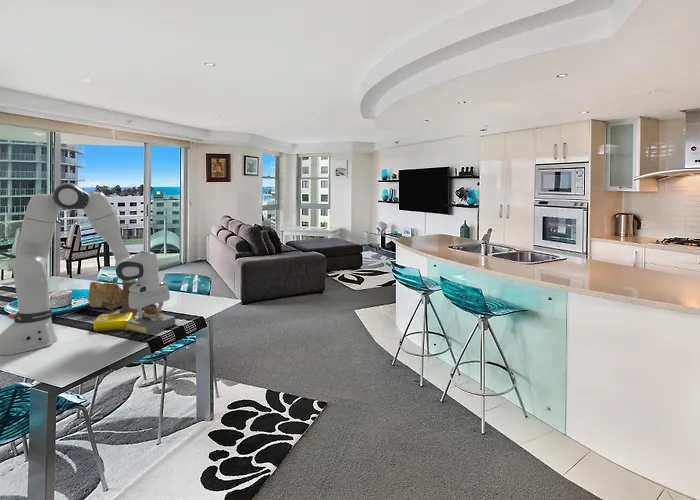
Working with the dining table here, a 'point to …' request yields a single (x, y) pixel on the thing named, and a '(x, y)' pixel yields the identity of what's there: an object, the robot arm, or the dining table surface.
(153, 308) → the brown box
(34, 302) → the robot arm
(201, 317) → the dining table surface
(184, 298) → the dining table surface
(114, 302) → the rough brown rock
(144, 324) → the dock
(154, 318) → the tan stepped block
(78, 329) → the dining table surface
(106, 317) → the element tile
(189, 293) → the dining table surface
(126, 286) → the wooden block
